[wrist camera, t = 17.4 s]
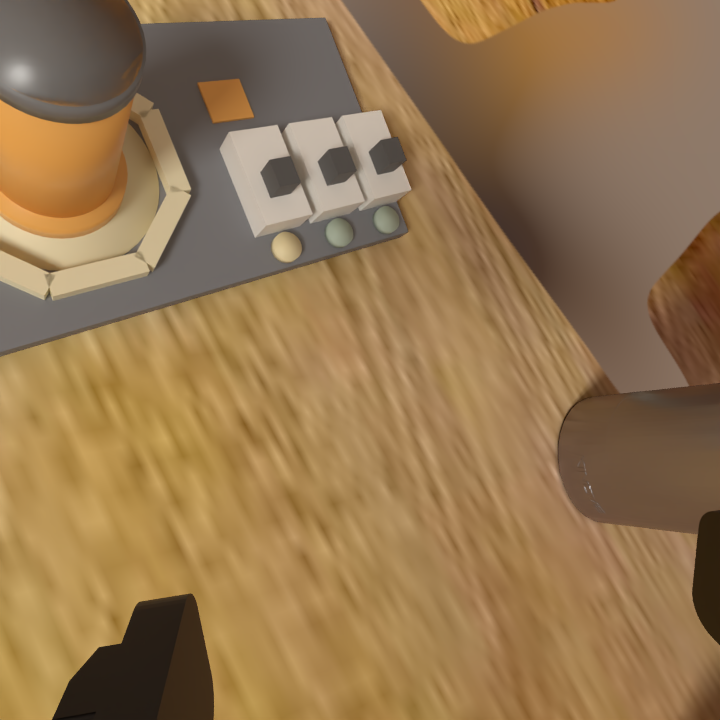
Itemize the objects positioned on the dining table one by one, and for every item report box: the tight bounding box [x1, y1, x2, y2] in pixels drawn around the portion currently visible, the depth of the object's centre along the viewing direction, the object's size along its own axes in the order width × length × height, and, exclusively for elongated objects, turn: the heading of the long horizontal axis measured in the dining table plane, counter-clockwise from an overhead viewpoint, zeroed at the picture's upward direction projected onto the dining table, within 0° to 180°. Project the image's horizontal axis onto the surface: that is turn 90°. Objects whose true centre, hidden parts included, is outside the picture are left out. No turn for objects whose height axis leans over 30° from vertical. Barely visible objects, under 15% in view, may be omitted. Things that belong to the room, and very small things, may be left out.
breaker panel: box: [0, 18, 412, 356], centre depth 27 cm, size 24×14×4 cm, turn 114°
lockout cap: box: [0, 0, 146, 239], centre depth 21 cm, size 6×6×10 cm
